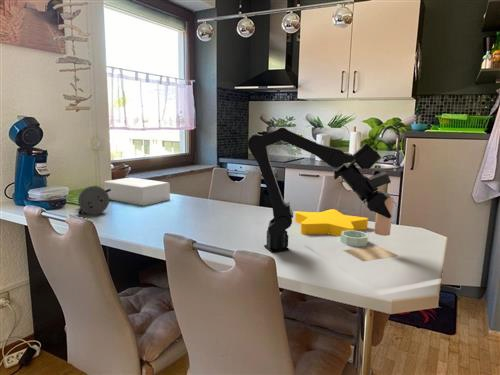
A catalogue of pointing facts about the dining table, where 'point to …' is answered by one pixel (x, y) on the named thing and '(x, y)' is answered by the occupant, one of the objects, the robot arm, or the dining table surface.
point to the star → (329, 222)
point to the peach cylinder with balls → (384, 219)
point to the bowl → (354, 238)
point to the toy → (93, 200)
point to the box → (137, 190)
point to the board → (370, 253)
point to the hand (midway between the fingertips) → (388, 215)
